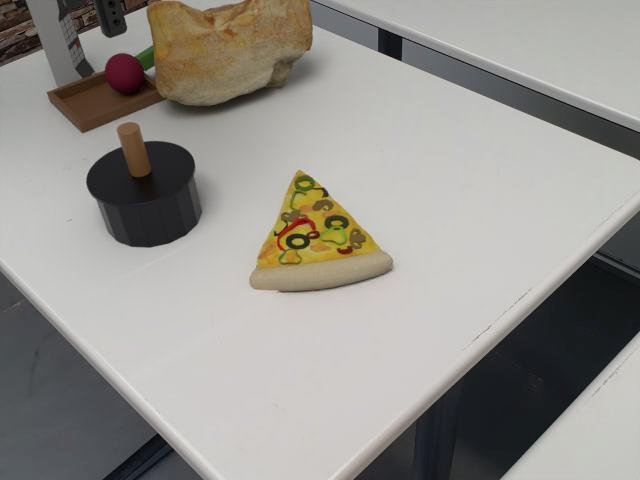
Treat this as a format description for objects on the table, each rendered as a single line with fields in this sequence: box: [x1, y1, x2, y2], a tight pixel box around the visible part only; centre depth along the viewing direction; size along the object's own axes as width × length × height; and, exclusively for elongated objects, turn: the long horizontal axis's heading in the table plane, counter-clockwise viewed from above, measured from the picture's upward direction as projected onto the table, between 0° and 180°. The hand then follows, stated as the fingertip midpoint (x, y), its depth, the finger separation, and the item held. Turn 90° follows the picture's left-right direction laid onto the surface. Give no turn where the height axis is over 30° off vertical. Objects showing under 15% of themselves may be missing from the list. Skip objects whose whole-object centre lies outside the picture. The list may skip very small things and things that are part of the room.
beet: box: [104, 44, 155, 94], centre depth 101 cm, size 6×6×12 cm
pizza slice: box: [249, 169, 394, 292], centre depth 79 cm, size 16×21×3 cm
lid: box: [85, 121, 197, 208], centre depth 76 cm, size 12×12×7 cm
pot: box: [95, 176, 203, 249], centre depth 81 cm, size 11×11×6 cm
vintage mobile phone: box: [25, 0, 97, 88], centre depth 98 cm, size 4×5×25 cm
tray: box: [46, 69, 168, 134], centre depth 101 cm, size 14×12×2 cm
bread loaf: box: [145, 0, 314, 107], centre depth 99 cm, size 23×17×15 cm
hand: (95, 19), depth 65 cm, fingers open, 8 cm apart
